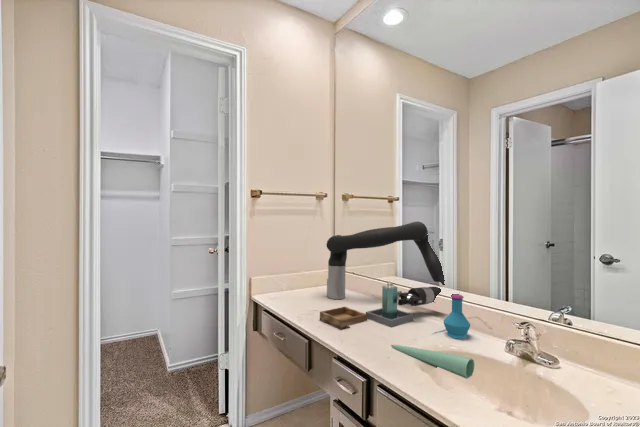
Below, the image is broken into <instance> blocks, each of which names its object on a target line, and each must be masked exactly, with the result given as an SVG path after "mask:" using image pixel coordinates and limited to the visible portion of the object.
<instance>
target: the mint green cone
mask: <svg viewBox="0 0 640 427" xmlns="http://www.w3.org/2000/svg"><path fill="white" fill-rule="evenodd" d="M391 348H392V349H394V350H396V351H399V352H401V353H404V354H406V355H408V356H411V357H413V358H415V359H418V360H420V361H422V362H425V363H427V364H430V365H432V366H435V367H437V368H440V369H442V370H445V371H447V372H449V373H452V374H454V375H457V376H458V377H462V378H464V379H469V378H471V377H473V373H474V372H475V360H474V359H473V358H472V357H468V356H463V355H459V354H455V353H454V354H453V353H447V352H441V351H435V350H428V349H423V348H417V347H410V346H407V345H399V344H391Z"/></svg>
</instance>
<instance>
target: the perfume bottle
mask: <svg viewBox="0 0 640 427" xmlns="http://www.w3.org/2000/svg"><path fill="white" fill-rule="evenodd" d="M451 297H452V300H451V311H450V313H449V314H448V315H447V316H446V317H445V319H444V320H443V325H444V328H445V330H446V334H447V336H449V337H451V338H455V339H466V338H467V334H468V333H469V332H468V331H470V327H471V323H470V322H469V320H468V318H467V317H466V316H465V314H464V313H463V300H464V298H465V297H464V296H463V295H462V294H460V293H459V294H452V295H451Z"/></svg>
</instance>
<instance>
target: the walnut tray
mask: <svg viewBox="0 0 640 427" xmlns="http://www.w3.org/2000/svg"><path fill="white" fill-rule="evenodd" d="M319 321H321V322H323V323H324V324H325V323H326V324H328V325H330V326H332V327H334V328H337V329H339V330H341V331H342V330H345V329H349V328H350V329H351V326H352V325H355V324H359V323H363V322H367V321H368V319H367V314H366V313H365V312H361V311H358V310H356V309H353V308H350V307H348V306H342V307H337V308H331V309H327V310H322V311H319Z"/></svg>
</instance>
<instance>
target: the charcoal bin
mask: <svg viewBox="0 0 640 427" xmlns="http://www.w3.org/2000/svg"><path fill="white" fill-rule="evenodd" d="M365 314H367V320H370V321H373V322H376V323H379V324H381V325H384V326H387V327H389V328H394V327H398V326H400V325H404V324H407V323H410V322H414V320H415V318H414V317H415V314H413V313H410V312H407V311H403V310H400V309H397V318H395V319H388V318H385V317H382V307H381V308H376V309H373V310H369V311H365Z"/></svg>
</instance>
